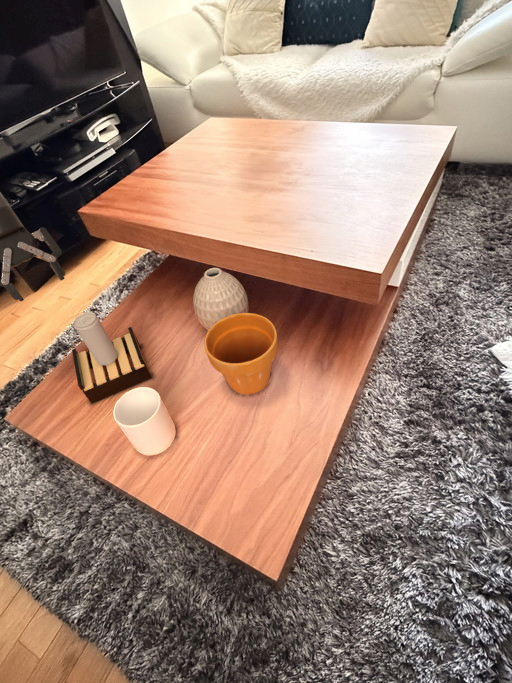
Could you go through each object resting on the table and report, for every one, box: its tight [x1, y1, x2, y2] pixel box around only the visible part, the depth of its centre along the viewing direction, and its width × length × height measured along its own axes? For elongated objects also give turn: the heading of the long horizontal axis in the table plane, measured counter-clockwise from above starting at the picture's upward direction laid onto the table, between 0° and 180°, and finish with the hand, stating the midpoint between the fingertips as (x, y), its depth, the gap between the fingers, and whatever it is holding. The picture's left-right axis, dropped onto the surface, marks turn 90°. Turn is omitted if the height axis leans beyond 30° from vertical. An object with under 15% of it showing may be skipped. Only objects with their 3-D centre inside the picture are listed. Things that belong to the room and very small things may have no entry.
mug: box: [112, 386, 177, 456], centre depth 74 cm, size 9×12×11 cm
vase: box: [192, 267, 249, 332], centre depth 91 cm, size 13×13×17 cm
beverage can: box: [73, 311, 118, 366], centre depth 83 cm, size 5×5×12 cm
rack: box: [71, 326, 153, 405], centre depth 88 cm, size 14×12×7 cm
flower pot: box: [203, 312, 279, 396], centre depth 79 cm, size 14×14×13 cm
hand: (42, 290), depth 78 cm, fingers open, 8 cm apart
